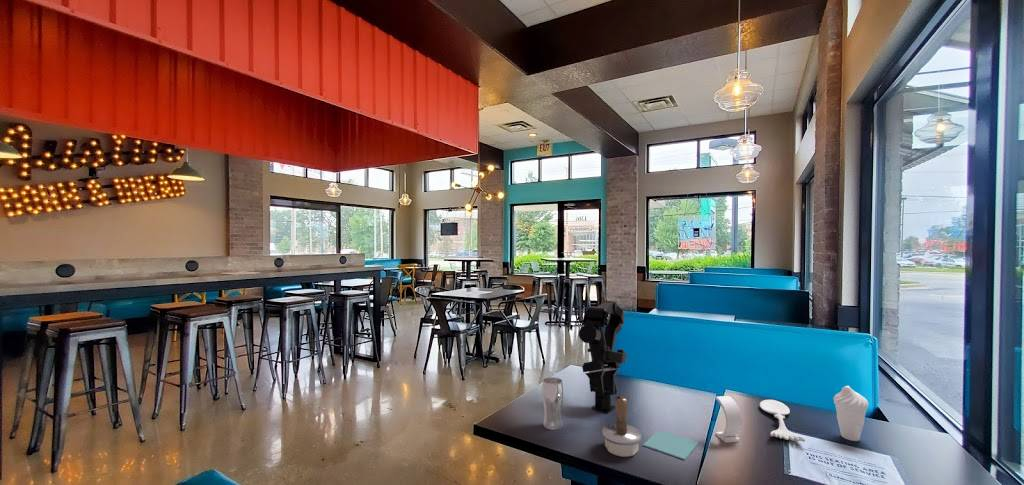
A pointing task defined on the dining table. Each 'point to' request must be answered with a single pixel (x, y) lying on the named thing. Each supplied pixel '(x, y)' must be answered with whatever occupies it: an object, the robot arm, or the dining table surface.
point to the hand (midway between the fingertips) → (607, 393)
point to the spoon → (779, 411)
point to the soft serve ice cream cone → (850, 413)
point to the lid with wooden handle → (621, 426)
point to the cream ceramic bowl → (622, 449)
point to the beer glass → (552, 402)
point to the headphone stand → (730, 419)
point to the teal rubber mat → (671, 444)
